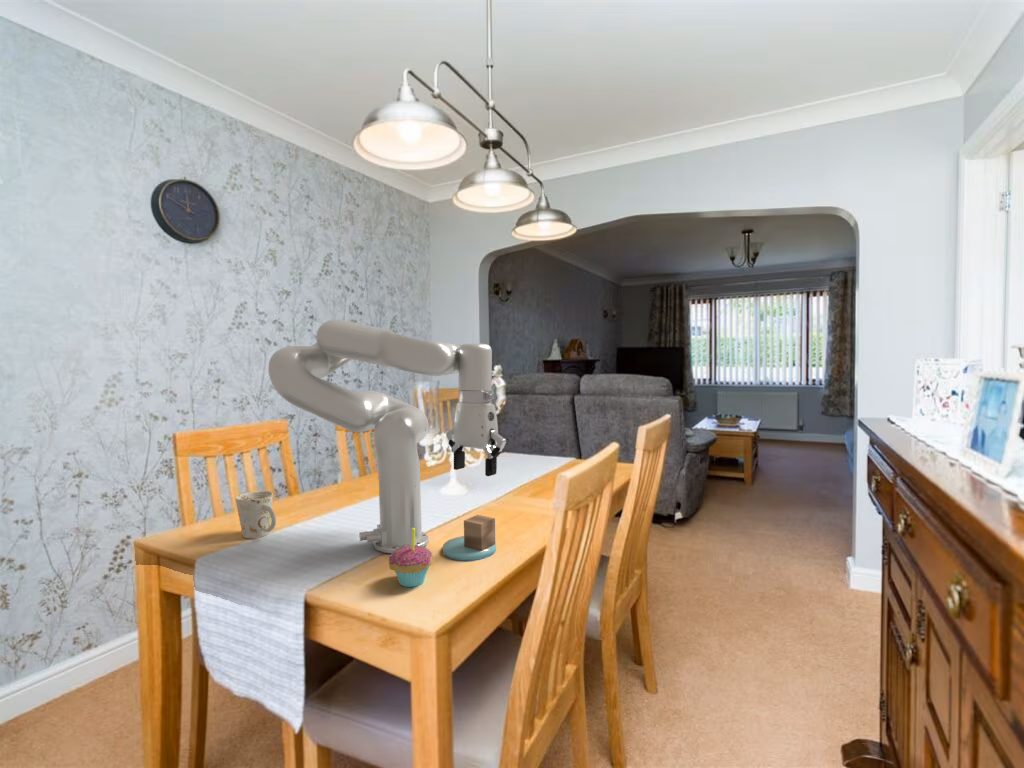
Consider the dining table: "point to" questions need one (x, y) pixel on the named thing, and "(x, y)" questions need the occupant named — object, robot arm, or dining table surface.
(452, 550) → the teal dish
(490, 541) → the walnut block
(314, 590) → the dining table surface
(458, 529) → the dining table surface
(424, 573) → the cupcake
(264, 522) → the mug
